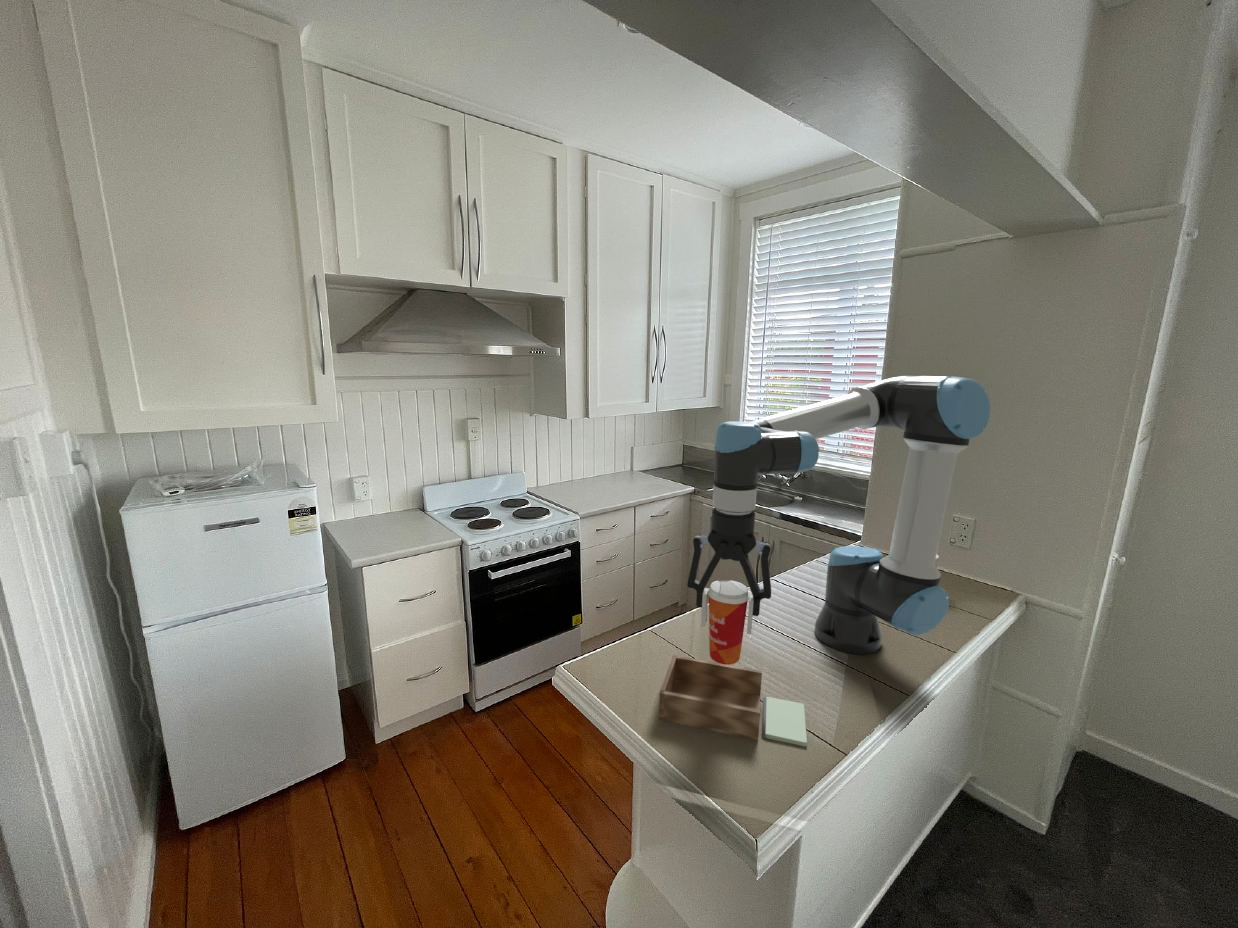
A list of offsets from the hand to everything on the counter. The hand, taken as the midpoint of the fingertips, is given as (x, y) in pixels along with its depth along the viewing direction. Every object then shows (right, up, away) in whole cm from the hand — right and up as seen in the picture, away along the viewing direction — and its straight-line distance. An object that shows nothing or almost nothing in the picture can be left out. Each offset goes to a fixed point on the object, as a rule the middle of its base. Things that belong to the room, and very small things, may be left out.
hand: (726, 626), depth 94 cm
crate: (-2, -18, +4) cm, 18 cm away
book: (+7, -18, +1) cm, 19 cm away
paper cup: (0, -6, +1) cm, 6 cm away
